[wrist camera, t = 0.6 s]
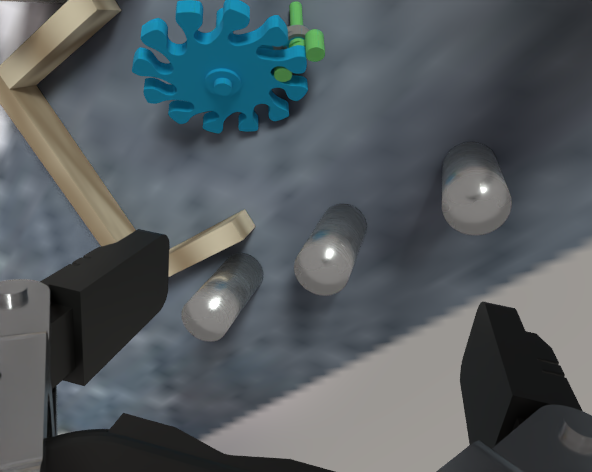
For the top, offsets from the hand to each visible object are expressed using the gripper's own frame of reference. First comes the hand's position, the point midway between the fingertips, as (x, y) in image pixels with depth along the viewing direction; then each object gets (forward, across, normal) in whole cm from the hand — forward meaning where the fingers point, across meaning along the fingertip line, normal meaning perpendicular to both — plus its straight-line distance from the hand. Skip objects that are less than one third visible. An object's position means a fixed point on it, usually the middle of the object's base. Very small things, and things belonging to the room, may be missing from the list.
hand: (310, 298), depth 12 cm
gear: (+21, +8, -4) cm, 23 cm away
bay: (+22, +17, +2) cm, 27 cm away
